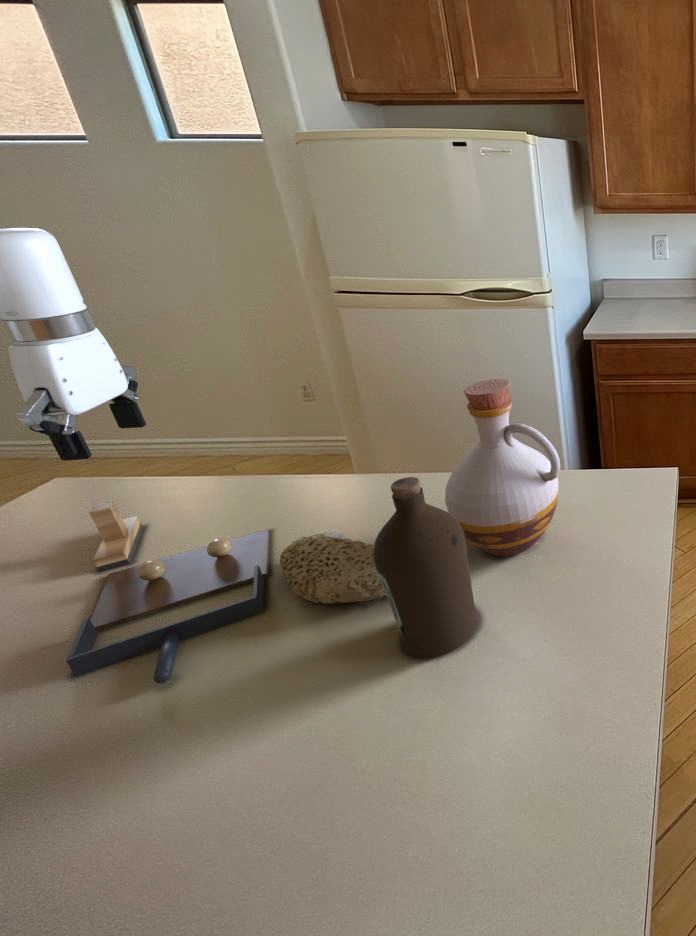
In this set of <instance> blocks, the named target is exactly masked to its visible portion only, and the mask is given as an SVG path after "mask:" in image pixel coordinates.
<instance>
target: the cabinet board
mask: <svg viewBox="0 0 696 936" xmlns="http://www.w3.org/2000/svg"><path fill="white" fill-rule="evenodd" d="M270 534H271V532H270V529H269V528H267V529H264V530H260V531H258V532H257V531H256V532H252V533H250V534H245V535H243V536H238V537H234V538H231V539H227V540H228V541H230V543H231V546H232V547H231V550H230V552H229V553H228V554H226V555H225V556H223V557H212V556H210V555H209V554H208V552H207V547H208V545H206V546H202V547H199V548H196V549H192V550H189V551H185V552H181V553H178V554H174V555H171V556H168V557H164V558H160V559H156V561H160V562H162V563H163V564H164V565H165V572H164V573H163V575H162V576H161V577H159V578H157V579H155V580H151V581H146V580H142V579H141V578H140V577H139V576H138V569H139V567H140V566H141V565H142V564H139V565H135V566H132V567H127V568H124V569H121V570H118V571H114V572H110V573H108V576H107V579H106V581H105V584H104V586H103V588H102V591H101V593H100V596H99V597H98V600H97V602H96V606H95V607H94V610H93V613H92V615H91V617H90V620H91V622H92V624H93V626H94V627H95V629H96V631H97V632H99V631H101V630H105V629H109V628H112V627H114V626H117V625H121V624H123V623H127V622H130V621H133V620H136V619H140V618H143V617H145V616H149V615H152V614H155V613H158V612H161V611H165V610H168V609H171V608H174V607H177V606H180V605H184V604H187V603H190V602H193V601H197V600H200V599H202V598H206V597H208V596H212V595H215V594H217V593H221V592H224V591H227V590H231V589H234V588H237V587H241V586H243V585H246V584H249V583H253V582H254V568H255V566H257V565H259V568H260V570H261V573H262V575H263V578H264V579H265V578H268V577H269V565H270V564H269V559H270Z"/></svg>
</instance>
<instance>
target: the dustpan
mask: <svg viewBox="0 0 696 936" xmlns="http://www.w3.org/2000/svg"><path fill="white" fill-rule="evenodd" d="M252 583H253V584H252V596H251V597H248V598H245V599H242V600H239V601H236V602H233V603H230V604H227V605H224V606H221V607H218V608H215V609H211V610H208V611H205V612H202V613H200V614H197V615H196V614H195V615H193V616H191V617H187V618H184V619H181V620H178V621H175V622H172V623H170V624H166V625H164V626H160V627H157V628H154V629H151V630H148V631H145V632H142V633H139V634H136V635H133V636H130V637H126V638H124V639H120V640H118V641H114V642H112V643H108V644H105V645H102V646H99V647H97V648H93V649H92V647H93V645H94V642H95V641H96V637H97V636H98V635H97V634H98V631H96V629H95V627H94V626H93V624H92V622H91V618H90V617H85V618H83V619H82V621H81V624H80V627H79V629H78V631H77V633H76V636H75V639H74V641H73V643H72V646H71V648H70V651H69V653H68V655H67V657H66V660H65V662H66V663H67V665H68V667H69V668H70V670H71V671H72V673H73V675H74V676H75V677H78V676H81V675H84V674H87V673H91V672H94V671H96V670H99V669H101V668H104V667H107V666H110V665H113V664H116V663H119V662H121V661H125V660H127V659H131V658H133V657H136V656H140V655H142V654H146V653H149V652H151V651H154V650H157V649H160V650H159V653H158V657H157V661H156V666H155V669H154V674H153V682H154V683H156V684H164V683H166V682H168V681H169V680H170V679H171V677H172V673H173V670H174V664H175V660H176V654H177V650H178V646H179V642H180V641H183V640H186V639H188V638H189V639H190V638H192V637H194V636H197V635H199V634H203V633H206V632H209V631H212V630H214V629H215V630H216V629H217V628H220V627H224V626H226V625H229V624H232V623H235V622H238V621H240V620H244V619H247V618H249V617H252V616H256V615H258V614H261V613H263V612H264V610H263V609H264V592H265V591H264V590H265V589H264V588H265V578H263V575H262V573H261V570H260V568H259V565H257V566H255V568H254V581H253V582H252Z"/></svg>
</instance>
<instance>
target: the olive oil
mask: <svg viewBox="0 0 696 936" xmlns="http://www.w3.org/2000/svg"><path fill="white" fill-rule="evenodd" d="M390 490H391V493H392V495H391V498H392V502H393V505H394V508H395V512H394V513H393V514H392V516H391V517H390V518H389V519H388V520H387V522H386V523H385V524H384V525H383V526H382V528H381V529H380V531H379V532H378V534H377V536H376V538H375V542H374V545H373V546H374V563H375V567H376V569H377V572H378V575H379V577H380V580H381V582H382V585H383V588H384V590H385V593H386V596H385V597H386V598H387V601H388V604H389V607H390V609H391V612H392V614H393V617H394V620H395V623H396V627H397V628H398V629H397V630H398V631H399V634H400V637H401V641H402V644H403V647H404V649H405V650H406V652H407V653H408V654H409V655H411V656H413V657H416V658H419V659H432V658H438V657H442V656H445V655H447V654H450V653H452V652H454V651H455V650H457V649H459V648H461V647H462V646H463V645H464V644H465V643H467V642H468V641H469V639H470V638H471V637H472V636H473V635H474V634H475V633H474V632H475V631H476V629H477V626H478V617H477V616H478V615H477V610H476V605H475V599H474V593H473V585H472V580H471V579H472V578H471V572H470V566H469V565H470V564H469V557H468V551H467V550H468V549H467V540H466V539H465V535H464V532H463V529H462V527H461V526H460V524H459V522H458V521H457V520H456V518H455V517H454V516H452V515H451V514H450V513H448V511H446V510H444V509H442V508H439V507H436V506H434V505H431V504H430V503H427V502H426V499H425V495H424V489H423V488H422V486H421V481H420V479H419V478H418V477H415V476H407V477H402V478H400V479H397V480H396V481H393V482H392V483H391V485H390Z"/></svg>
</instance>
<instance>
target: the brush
mask: <svg viewBox="0 0 696 936" xmlns="http://www.w3.org/2000/svg"><path fill="white" fill-rule="evenodd" d="M88 513H89V515H90V517H91V519H92V521H93V523H94V525H95V526H96V529H97V530H98V533H99V534H100V536H101V538H102V539H101V542H100V544H99V546H98V548H97V550H96V552H95V554H94V557H93V559H92V561H93V563H94V565H95V567H96V568H97V571H98V572H99V573H102V572H105V571H109V570H113V569H117V568H120V567H124V566H127V565H130V564H131V562H132V559H133V557H134V554H135V551H136V548H137V546H138V543H139V540H140V537H141V535H142V532H143V530H144V525H143V523H142V521H141V519H140V516H139V515H135V516H130V517H127V518H123V516H122V515H121V513H120V512H119V509H118V507H117V505H116V503H115V501H114V500H111V501H106V502H102V503H101V502H100V503H97V504H93V505H92V506H91V508H90V510H89V511H88Z"/></svg>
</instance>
